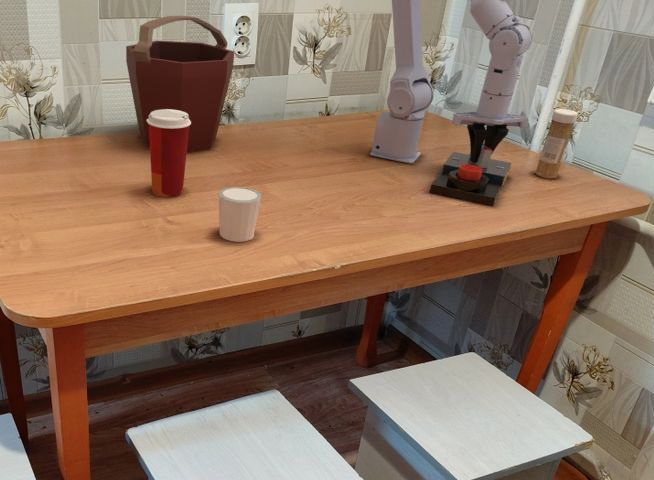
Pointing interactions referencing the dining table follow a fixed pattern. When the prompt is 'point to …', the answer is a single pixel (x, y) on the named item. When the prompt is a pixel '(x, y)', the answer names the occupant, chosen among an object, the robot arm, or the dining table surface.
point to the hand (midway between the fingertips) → (478, 161)
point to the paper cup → (168, 150)
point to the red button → (470, 172)
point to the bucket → (180, 80)
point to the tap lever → (484, 157)
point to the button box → (466, 188)
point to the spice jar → (556, 143)
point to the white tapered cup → (238, 213)
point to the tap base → (494, 172)
